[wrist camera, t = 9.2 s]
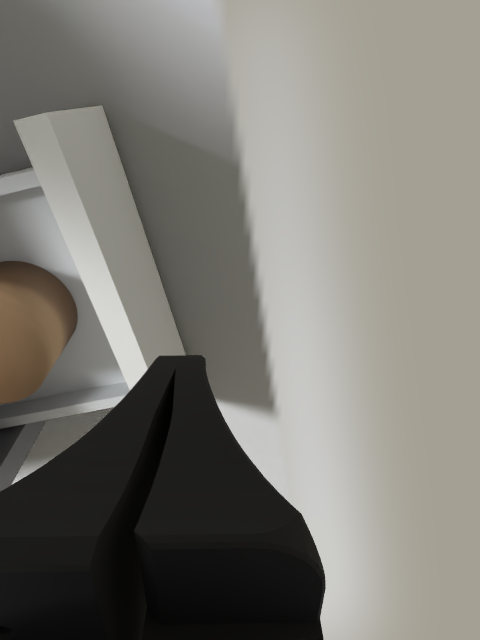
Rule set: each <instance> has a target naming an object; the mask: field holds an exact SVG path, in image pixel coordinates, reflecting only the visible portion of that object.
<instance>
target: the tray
mask: <svg viewBox="0 0 480 640" xmlns="http://www.w3.org/2000/svg"><path fill="white" fill-rule="evenodd" d="M13 122H14V125H15V127H16V129H17V132H18V134H19V136H20V138H21V141H22V143H23V145H24V148H25V150H26V152H27V155H28V157H29V159H30V161H31V164H32V166H33V167H31V168H27V169H23V170H19V171H15V172H11V173H7V174H2V175H0V262H3V261H21V262H27V263H30V264H34V265H36V266H39V267H41V268H43V269H45V270H47V271H48V272H50V273H51V274H53V275H54V276H55V277H57V278H58V279H59V280H60V281H61V282H62V283H63V284H64V285H65V286H66V288H67V289H68V290H69V292H70V293H71V295H72V297H73V299H74V301H75V304H76V307H77V313H78V321H77V326H76V329H75V332H74V333H73V335H72V337H71V338H70V340H69V342H68V343H67V345H66V346H65V348H64V350H63V351H62V353H61V354H60V356H59V358H58V359H57V361H56V362H55V364H54V365H53V367H52V369H51V370H50V372H49V373H48V375H47V377H46V378H45V380H44V381H43V383H42V385H41V386H40V387H39V388H38V389H37V390H36V391H35V392H34V393H33V394H31V395H30V396H28V397H26V398H24V399H22V400H19V401H16V402H11V403H3V404H0V429H2V428H7V427H13V426H18V425H23V424H28V423H34V422H39V421H44V420H49V419H54V418H60V417H65V416H70V415H75V414H80V413H86V412H91V411H96V410H101V409H107V408H112V407H115V406H116V405H117V404H118V403H119V402H120V401H121V400H122V399H123V398H124V397H125V396H126V395H127V393H128V392H129V391H130V390H131V389H132V388H133V387H134V385H135V384H136V383H137V382H138V381H139V379H140V378H141V377H142V376H143V375H144V373H145V372H146V371H147V370H148V368H149V367H150V366H151V364H152V363H153V362H154V360H155V359H156V358H157V357H158V356H179V355H186V354H185V351H184V348H183V345H182V342H181V339H180V336H179V333H178V330H177V327H176V324H175V321H174V318H173V315H172V312H171V309H170V306H169V303H168V300H167V297H166V294H165V291H164V288H163V285H162V282H161V279H160V276H159V273H158V270H157V267H156V264H155V261H154V258H153V255H152V252H151V249H150V247H149V244H148V241H147V238H146V235H145V232H144V229H143V226H142V223H141V220H140V217H139V214H138V211H137V208H136V205H135V202H134V199H133V196H132V193H131V190H130V187H129V184H128V181H127V178H126V175H125V172H124V169H123V166H122V163H121V160H120V157H119V154H118V151H117V148H116V145H115V142H114V139H113V136H112V133H111V130H110V127H109V124H108V121H107V118H106V115H105V112H104V109H103V106H102V105H101V106H93V107H85V108H77V109H69V110H61V111H53V112H46V113H42V114H38V115H34V116H30V117H26V118H22V119H18V120H14V121H13Z"/></svg>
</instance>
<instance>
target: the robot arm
mask: <svg viewBox="0 0 480 640" xmlns="http://www.w3.org/2000/svg"><path fill="white" fill-rule="evenodd" d="M324 593H325V574H324V570H323V566H322V563H321V559H320V556H319V553H318V551H317V548H316V545H315V543H314V540H313V538H312V536H311V534H310V531H309V529H308V527H307V525H306V523H305V520H304V518H303V516H302V514H301V513H300V512H299V511H298V510H296V509H295V508H294V507H293V506H292V505H291V504H290V503H289V502H288V501H287V500H286V499H285V498H284V497H283V496H282V495H281V494H280V493H279V492H278V491H277V490H276V489H275V488H274V487H273V486H272V485H271V484H270V483H269V482H268V481H267V479H266V478H265V477H264V476H263V475H262V474H261V472H260V471H259V470H258V469H257V467H256V466H255V465H254V464H253V462H252V461H251V460H250V459H249V457H248V456H247V455H246V454H245V452H244V451H243V449H242V448H241V446H240V445H239V443H238V442H237V440H236V439H235V437H234V435H233V434H232V432H231V431H230V429H229V427H228V425H227V423H226V422H225V420H224V418H223V416H222V414H221V412H220V410H219V408H218V405H217V403H216V401H215V398H214V396H213V393H212V390H211V388H210V385H209V382H208V378H207V374H206V364H205V358H204V357H203V356H202V355H179V356H158V357H157V358H156V359H155V360H154V362H153V363H152V364H151V366H150V367H149V368H148V370H147V371H146V372H145V373H144V375H143V376H142V377H141V378H140V379H139V381H138V382H137V383H136V384H135V385H134V387H133V388H132V389H131V390H130V391H129V392H128V393H127V395H126V396H125V397H124V398H123V399H122V400H121V401H120V402H119V403H118V404H117V405H116V406H115V407H114V408H113V409H112V410H111V411H110V412H109V413H108V414H107V415H106V416H105V417H104V418H103V419H102V420H101V421H100V422H99V423H98V424H97V425H96V426H95V427H94V428H92V429H91V430H90V431H89V432H88V433H87V434H85V435H84V436H83V437H82V438H81V439H80V440H78V441H77V442H76V443H74V444H73V445H72V446H70V447H69V448H67V449H66V450H65V451H63V452H62V453H61V454H59V455H58V456H56V457H55V458H54V459H52V460H51V461H49V462H48V463H47V464H45V465H44V466H42V467H40V468H39V469H37V470H36V471H34V472H33V473H31V474H29V475H28V476H26V477H24V478H23V479H21V480H19V481H18V482H16V483H14V484H13V485H11V486H9V487H7V488H6V489H4V490H2V491H0V640H323V634H322V628H321V622H320V614H321V609H322V604H323V598H324Z"/></svg>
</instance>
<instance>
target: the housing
mask: <svg viewBox="0 0 480 640" xmlns="http://www.w3.org/2000/svg"><path fill="white" fill-rule="evenodd" d="M45 422H46V420H44V421H39V422H34V423H28V424H23V425H18V426H13V427H7V428H2V429H0V491H2V490H4V489H6V488H7V487H9V486H11V484H12V482H13V481H14V479H15V477H16V475H17V473H18V471H19V470H20V468H21V466H22V464H23V462H24V460H25V459H26V457H27V455H28V453H29V451H30V449H31V448H32V446H33V444H34V442H35V440H36V438H37V437H38V435H39V433H40V431H41V429H42V427H43V426H44V424H45Z"/></svg>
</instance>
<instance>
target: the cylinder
mask: <svg viewBox="0 0 480 640" xmlns="http://www.w3.org/2000/svg"><path fill="white" fill-rule="evenodd" d="M77 321H78V313H77V307H76V304H75V301H74V299H73V297H72V295H71V293H70V292H69V290H68V289H67V288H66V286H65V285H64V284H63V283H62V282H61V281H60V280H59V279H58V278H57V277H55V276H54V275H53V274H51V273H50V272H48V271H47V270H45V269H43V268H41V267H39V266H36V265H34V264H30V263H27V262H21V261H3V262H0V404H3V403H11V402H16V401H19V400H22V399H24V398H26V397H28V396H30V395H31V394H33V393H34V392H35V391H36V390H37V389H38V388H39V387H40V386H41V385H42V383H43V381H44V380H45V378H46V377H47V375H48V373H49V372H50V370H51V369H52V367H53V365H54V364H55V362H56V361H57V359H58V358H59V356H60V354H61V353H62V351H63V350H64V348H65V346H66V345H67V343H68V342H69V340H70V338H71V337H72V335H73V333H74V332H75V329H76V326H77Z"/></svg>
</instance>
